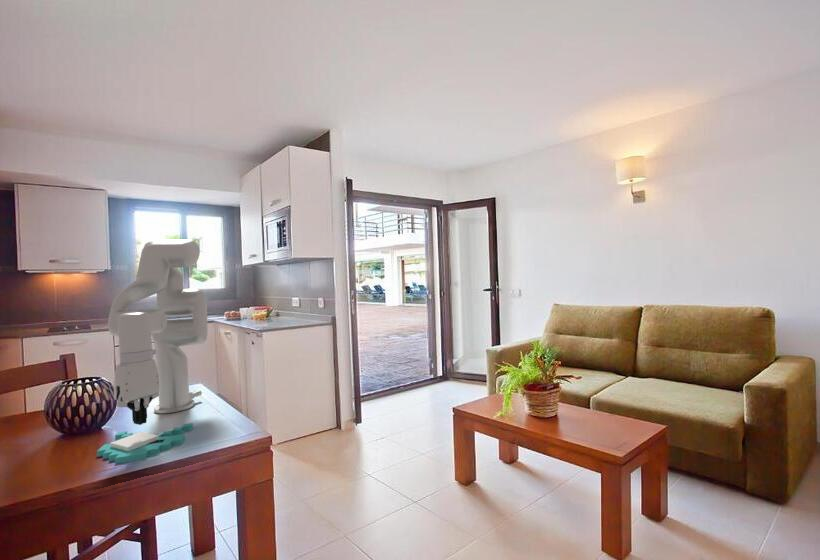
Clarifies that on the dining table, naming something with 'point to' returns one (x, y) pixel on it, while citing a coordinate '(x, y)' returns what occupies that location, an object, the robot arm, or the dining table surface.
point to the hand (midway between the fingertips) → (140, 423)
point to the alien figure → (144, 446)
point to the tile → (134, 441)
